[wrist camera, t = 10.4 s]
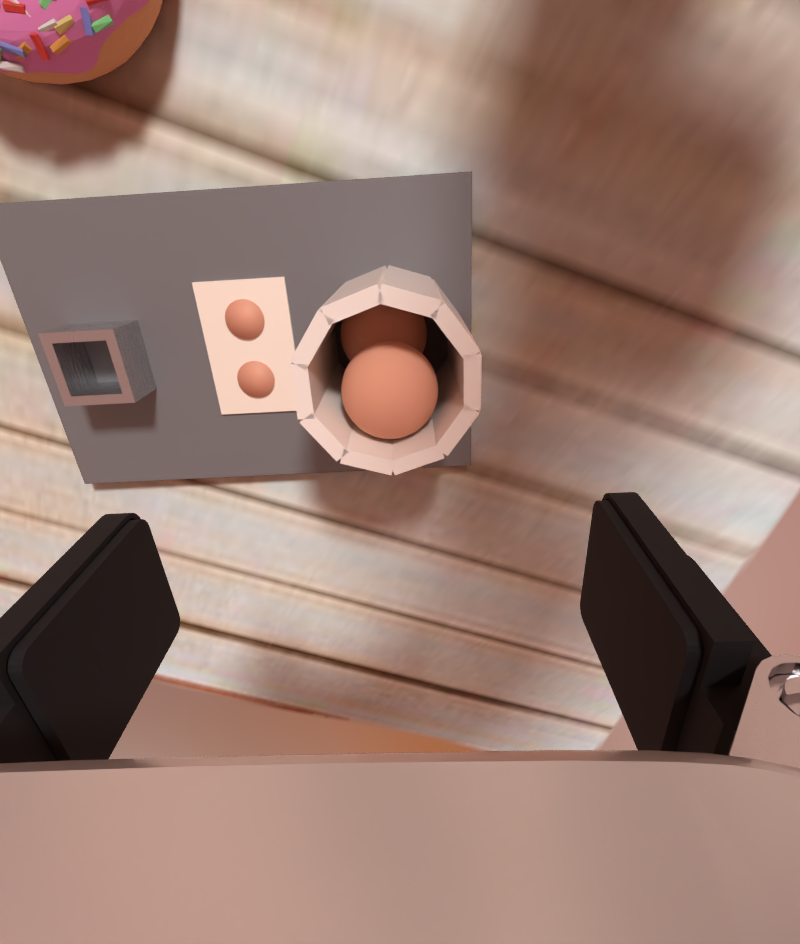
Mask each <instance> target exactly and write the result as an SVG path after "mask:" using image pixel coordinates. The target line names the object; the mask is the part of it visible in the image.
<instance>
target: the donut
mask: <svg viewBox="0 0 800 944" xmlns="http://www.w3.org/2000/svg"><path fill="white" fill-rule="evenodd" d="M162 2H163V0H0V73H1V74H3V75H6V76H10V77H14V78H17V79H21V80H25V81H29V82H36V83H49V84H70V83H76V82H83V81H89V80H93V79H95V78H98V77H100V76H102V75H105V74H107V73H109V72H111V71H113V70H114V69H116V68H117V67H119V66H121V65H122V64H124V63H125V62H126V61H127V60H128V59H129V58H130V57H131V56H132V55H133V54H134V53H135V52H136V51H137V50H138V49H139V48H140V46H141V45H142V43H143V42H144V41H145V39H146V38H147V36H148V35H149V33H150V32H151V30H152V28H153V26H154V24H155V21H156V19H157V17H158V15H159V12H160V9H161V5H162Z"/></svg>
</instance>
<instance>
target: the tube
mask: <svg viewBox="0 0 800 944" xmlns="http://www.w3.org/2000/svg"><path fill="white" fill-rule="evenodd" d="M379 304H383V305H387V306H390V307H394V308H398V309H401V310H405V311H408V312H412V313H416V314H419V315H423V316H427V317H430V318H433V320H434V321H435V322H436V323H437V325H438V326H439V327H440V329H441V330H442V331H443V333H444V334H445V335H446V337H447V349H448V356H447V358H446V359H445V361H444V362H443V364H442V365H441V366H440V368H439V369H438V371H437V372H436V378H437V382H438V398H437V403H436V406H435V409H434V411H433V413H432V415H431V417H430V418H429V420H428V421H427V422H426V423H425V424H424V425H423V426H422V427H421V428H420V429H419V430H417V431H416V432H414V433H412V434H410V435H408V436H405V437H402V438H398V439H383V438H378V437H375V436H372V435H370V434H368V433H366V432H364V431H363V430H361V429H360V428H359V427H358V426H356V424H355V423H354V422H353V421H352V420H351V418H350V417H349V416H348V414H347V412H346V410H345V407H344V405H343V400H342V394H341V386H342V379H343V376H344V372H345V370H346V369H345V368H344V367H343V366H342V365H341V364H340V363H339V356H338V347H337V338H336V330H335V325H336V324H337V322H338V321H340V320H343V319H345V318H348V317H350V316H353V315H355V314H357V313H360V312H362V311H365V310H367V309H370V308H372V307H375V306H377V305H379ZM290 361H291V363H290V365H289V367H290V373H291V379H292V386H293V392H294V399H295V405H296V411H297V418H298V419H301V421H300V424H301V425H302V426H303V427H304V428H305V429H306V430H307V431H308V432H309V433H310V434H311V435H312V436H313V437H314V438H315V439H316V441H317V442H318V443H319V444H320V445H321V446H322V447H323V448H324V449H325V450H326V451H327V452H328V453H329V454H330V455H331V456H332V457H333V458H334V459H335V460H336V461H338V460H339V459H341V461H340V463H341V464H345V465H349V466H353V467H357V468H362V469H366V470H370V471H374V472H378V473H383V474H387V475H392V471H393V472H394V474H395V475H398V474H400V473H403V472H406V471H409V470H412V469H415V468H418V467H421V466H424V465H427V464H429V463H432V462H435V461H438V460H441V459H444V454H445V455H447V456H448V455H449V454H450V452H451V451H452V450H453V448H454V447H455V446H456V444H457V443H458V442H459V440H460V439H461V438H462V436H463V435H464V434H465V432H466V431H467V430H468V428H469V427H470V426H471V424H472V423H473V422H474V420H475V419H476V418H477V416H478V415H479V414H480V413H479V411H478V410H481V370H482V354H481V352H480V349H479V347H478V345H477V343H476V342H475V340H474V338H473V337H472V335H471V333H470V331H469V330H468V328H467V326H466V325H465V323H464V321H463V319H462V318H461V316H460V314H459V313H458V311H457V310H456V309H455V307H454V306H453V305H452V303H451V302H450V301H449V299H448V298H447V297H446V295H445V294H444V292H443V291H442V290H441V288H440V287H439V286H438V284H437V283H436V282H435V280H434V279H431V277H429V276H426V275H422V274H419V273H415V272H412V271H408V270H405V269H401V268H398V267H394V266H390V265H389V266H388V268H386V265H385V266H382V267H380V268H378V269H375V270H373V271H371V272H368V273H366V274H364V275H361V276H359V277H356V278H354V279H352V280H349V281H347V282H345V283H344V284H343V285H342V286H341V287H340V288H339V289H338V290H337V291H336V292H335V293H334V294H333V295H332V296H331V297H330V298H329V299H328V300H327V301H326V302H325V303H324V304H323V305H322V306H321V307H320V308H319V309H318V311H317V312H316V314H315V316H314V318H313V320H312V321H311V323H310V325H309V327H308V329H307V331H306V332H305V334H304V336H303V338H302V340H301V342H300V343H299V345H298V347H297V349H296V351H295V352H294V354H293V356H292V358H291V360H290Z"/></svg>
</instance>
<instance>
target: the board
mask: <svg viewBox="0 0 800 944" xmlns="http://www.w3.org/2000/svg"><path fill="white" fill-rule="evenodd" d="M471 256H472V172H459V173H444V174H429V175H415V176H400V177H385V178H370V179H355V180H341V181H326V182H311V183H296V184H281V185H267V186H252V187H237V188H222V189H208V190H193V191H178V192H163V193H148V194H134V195H119V196H104V197H89V198H74V199H60V200H45V201H30V202H15V203H0V260H1V262H2V265H3V268H4V270H5V273H6V276H7V278H8V281H9V284H10V286H11V289H12V292H13V294H14V297H15V300H16V302H17V305H18V308H19V310H20V313H21V316H22V318H23V321H24V323H25V326H26V329H27V331H28V334H29V337H30V339H31V342H32V345H33V347H34V350H35V353H36V355H37V358H38V361H39V363H40V366H41V369H42V371H43V374H44V377H45V379H46V382H47V384H48V387H49V390H50V392H51V395H52V398H53V400H54V403H55V406H56V408H57V411H58V414H59V416H60V419H61V422H62V424H63V427H64V430H65V432H66V435H67V438H68V440H69V443H70V445H71V448H72V451H73V453H74V456H75V459H76V461H77V464H78V467H79V469H80V472H81V475H82V477H83V480H84V483H85V484H91V483H112V482H133V481H154V480H175V479H196V478H217V477H237V476H258V475H279V474H300V473H321V472H342V471H363V470H366V469H362V468H357V467H353V466H349V465H345V464H341V463H340V461H341V459H339V460H338V461H336V460H335V459H334V458H333V457H332V456H331V455H330V454H329V453H328V452H327V451H326V450H325V449H324V448H323V447H322V446H321V445H320V444H319V443H318V442H317V441H316V439H315V438H314V437H313V436H312V435H311V434H310V433H309V432H308V431H307V430H306V429H305V428H304V427H303V426H302V425H301V424H300V421H301V419H298V418H297V411H296V405H295V399H294V392H293V386H292V379H291V373H290V367H289V365H290V363H291V361H290V360H291V358H292V356H293V354H294V352H295V351H296V349H297V347H298V345H299V343H300V342H301V340H302V338H303V336H304V334H305V332H306V331H307V329H308V327H309V325H310V323H311V321H312V320H313V318H314V316H315V314H316V312H317V311H318V309H319V308H320V307H321V306H322V305H323V304H324V303H325V302H326V301H327V300H328V299H329V298H330V297H331V296H332V295H333V294H334V293H335V292H336V291H337V290H338V289H339V288H340V287H341V286H342V285H343V284H344V283H345V282H347V281H349V280H352V279H354V278H356V277H359V276H361V275H364V274H366V273H368V272H371V271H373V270H375V269H378V268H380V267H382V266H385V265H386V268H388V266H389V265H390V266H394V267H398V268H401V269H405V270H408V271H412V272H415V273H419V274H422V275H426V276H429V277H431V279H434V280H435V282H436V283H437V284H438V286H439V287H440V288H441V290H442V291H443V292H444V294H445V295H446V297H447V298H448V299H449V301H450V302H451V303H452V305H453V306H454V307H455V309H456V310H457V311H458V313H459V314H460V316H461V318H462V319H463V321H464V323H465V325H466V326H467V328H468V330H469V331H470V333H471ZM423 317H424V320H425V323H426V329H427V339H426V345H425V348H424V351H423V353H422V354H423V355H424V356H425V357H426V358H427V359H428V361H429V362H430V364H431V365H432V367H433V369H434V372H435V374H436V372H437V371H438V369H439V368H440V366H441V365H442V364H443V362H444V361H445V359H446V358H447V356H448V349H447V337H446V335H445V334H444V333H443V331H442V330H441V329H440V327H439V326H438V325H437V323H436V322H435V321H434V320H433V318H430V317H427V316H423ZM130 320H138V323H139V326H140V330H141V334H142V337H143V341H144V344H145V348H146V351H147V355H148V359H149V362H150V366H151V369H152V373H153V377H154V380H155V384H156V387H157V388H156V389H155V390H153V391H152V392H150V393H149V394H147V395H146V396H144V397H143V398H141V399H140V400H138V401H137V402H135V403H119V404H101V405H82V406H65V405H64V403H63V400H62V397H61V395H60V392H59V389H58V386H57V384H56V381H55V378H54V376H53V373H52V370H51V367H50V365H49V362H48V359H47V357H46V354H45V351H44V349H43V346H42V343H41V340H40V338H39V335H38V333H42V332H45V331H48V330H51V329H55V328H58V327H61V326H64V325H68V324H79V323H96V322H113V321H130ZM342 321H343V320H340V321H338V322H337V324H336V325H335V330H336V338H337V347H338V356H339V363H340V364H341V365H342V366H343V367H344V368H345V369H346V368H347V366H348V364H349V363H350V360H349V359H348V357H347V356H346V354H345V352H344V349H343V346H342V342H341V324H342ZM85 345H86V348H87V351H88V354H89V357H90V360H91V363H92V366H93V369H94V372H95V375H96V378H97V381H98V382H115V381H118V378H117V374H116V371H115V368H114V365H113V362H112V358H111V355H110V352H109V349H108V345H107V342H106V340H104V341H87V342H85ZM467 465H471V426H470V427H469V428H468V430H467V431H466V432H465V434H464V435H463V436H462V438H461V439H460V440H459V442H458V443H457V444H456V446H455V447H454V448H453V450H452V451H451V452H450V454H449V455H448V456H447V455H445V454H444V459H441V460H438V461H435V462H432V463H429V464H427V465H424V466H421V467H418V468H426V467H447V466H467Z"/></svg>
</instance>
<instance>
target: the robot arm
mask: <svg viewBox="0 0 800 944" xmlns="http://www.w3.org/2000/svg"><path fill="white" fill-rule="evenodd" d="M580 609H581V615H582V619H583V622H584V624H585V626H586V629H587V631H588V634H589V636H590V638H591V641H592V643H593V645H594V648H595V650H596V652H597V655H598V657H599V660H600V662H601V664H602V667H603V669H604V671H605V674H606V676H607V678H608V681H609V683H610V686H611V688H612V690H613V693H614V695H615V697H616V700H617V702H618V704H619V707H620V709H621V712H622V714H623V716H624V719H625V721H626V723H627V725H628V728H629V730H630V733H631V735H632V737H633V740H634V742H635V745H636V747H637V749H638V751H637V750H635V751H634V750H630V751H629V750H613V751H612V750H611V751H610V750H608V751H606V750H540V751H475V752H414V753H412V752H411V753H361V754H360V753H359V754H313V755H312V754H309V755H265V756H220V757H219V756H218V757H183V758H182V757H181V758H144V759H109V757H110V755H111V753H112V751H113V750H114V748H115V746H116V744H117V742H118V741H119V739H120V737H121V735H122V733H123V731H124V730H125V728H126V726H127V724H128V722H129V720H130V719H131V717H132V715H133V713H134V711H135V710H136V708H137V706H138V704H139V702H140V700H141V699H142V697H143V695H144V693H145V691H146V689H147V688H148V686H149V684H150V682H151V680H152V679H153V677H154V675H155V673H156V671H157V669H158V668H159V666H160V664H161V662H162V660H163V659H164V657H165V655H166V653H167V651H168V649H169V648H170V646H171V644H172V642H173V640H174V638H175V637H176V635H177V633H178V630H179V626H180V616H179V612H178V610H177V607H176V604H175V601H174V598H173V595H172V592H171V589H170V586H169V583H168V580H167V577H166V574H165V571H164V568H163V565H162V562H161V559H160V557H159V554H158V551H157V548H156V545H155V542H154V539H153V536H152V533H151V530H150V527H149V525H148V523H147V522H146V521H145V520H143V519H140V517H139V516H138V515H137V514H135V513H123V514H106V515H104V516H102V517H101V518H100V519H99V520H98V521H97V522H96V523H95V524H94V525H93V526H92V527H91V528H90V529H89V530H88V531H87V532H86V533H85V534H84V535H83V536H82V537H81V538H80V539H79V540H78V541H77V542H76V543H75V544H74V545H73V546H72V547H71V548H70V549H69V550H68V551H67V552H66V553H65V554H64V555H63V556H62V557H61V558H60V559H59V560H58V561H57V562H56V563H55V564H54V565H53V566H52V567H51V568H50V569H49V570H48V571H47V572H46V573H45V574H44V575H43V576H42V577H41V578H40V579H39V580H38V581H37V582H36V583H35V584H34V585H33V586H32V587H31V588H30V589H29V590H28V591H27V592H26V593H25V594H24V595H23V596H22V597H21V598H20V599H19V600H18V601H17V602H16V603H15V604H14V605H13V606H12V607H11V608H10V609H9V610H8V611H7V612H6V613H5V614H4V615H3V616H2V617H1V618H0V944H800V656H796V655H788V654H785V655H775V656H772V655H771V654H770V653H769V652H768V650H767V649H766V648H765V647H764V646H763V644H762V643H761V642H760V641H759V639H758V638H757V637H756V636H755V635H754V633H753V632H752V631H751V630H750V628H749V627H748V626H747V625H746V623H745V622H744V621H743V620H742V619H741V617H740V616H739V615H738V614H737V612H736V611H735V610H734V609H733V608H732V606H731V605H730V604H729V603H728V601H727V600H726V599H725V598H724V596H723V595H722V594H721V593H720V591H719V590H718V589H717V588H716V587H715V585H714V584H713V583H712V582H711V580H710V579H709V578H708V577H707V575H706V574H705V573H704V572H703V571H702V569H701V568H700V567H699V566H698V564H697V563H696V562H695V561H694V560H693V559H692V558H691V557H690V556H688V555H687V554H686V553H685V552H684V551H683V549H682V548H681V547H680V546H679V545H678V543H677V542H676V541H675V540H674V538H673V537H672V536H671V535H670V533H669V532H668V531H667V530H666V528H665V527H664V526H663V525H662V523H661V522H660V521H659V520H658V518H657V517H656V516H655V515H654V513H653V512H652V511H651V510H650V509H649V507H648V506H647V505H646V504H645V502H644V501H643V500H642V499H641V497H640V496H639V495H638V494H637V493H635V492H627V493H606V494H605V495H604V497H603V499H602V501H596V502H595V503H594V506H593V513H592V520H591V527H590V535H589V542H588V549H587V557H586V564H585V571H584V579H583V586H582V593H581V601H580Z"/></svg>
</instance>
